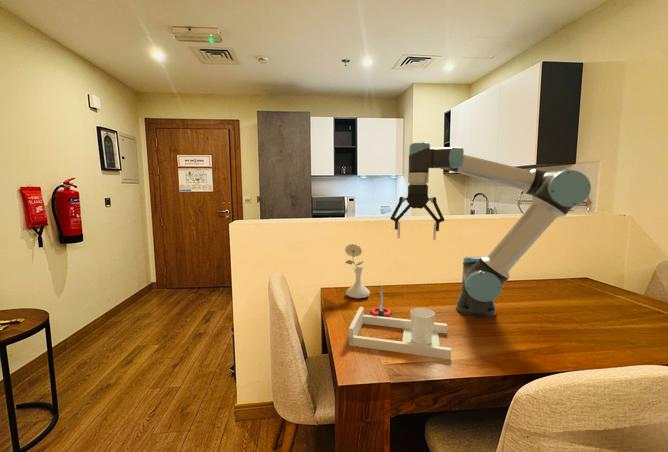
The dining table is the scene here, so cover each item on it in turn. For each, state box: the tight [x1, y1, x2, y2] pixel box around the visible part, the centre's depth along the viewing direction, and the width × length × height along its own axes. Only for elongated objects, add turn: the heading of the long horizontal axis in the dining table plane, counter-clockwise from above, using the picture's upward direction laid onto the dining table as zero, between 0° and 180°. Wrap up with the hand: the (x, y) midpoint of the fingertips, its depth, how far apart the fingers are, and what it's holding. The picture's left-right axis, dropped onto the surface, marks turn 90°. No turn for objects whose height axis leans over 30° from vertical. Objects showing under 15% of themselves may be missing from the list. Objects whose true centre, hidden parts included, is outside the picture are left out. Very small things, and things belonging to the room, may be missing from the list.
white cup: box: [410, 307, 436, 345], centre depth 108 cm, size 8×8×10 cm
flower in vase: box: [344, 243, 371, 299], centre depth 151 cm, size 13×11×25 cm
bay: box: [348, 306, 452, 361], centre depth 110 cm, size 32×19×6 cm, turn 74°
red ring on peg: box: [370, 285, 392, 318], centre depth 132 cm, size 8×13×9 cm
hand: (416, 238), depth 125 cm, fingers open, 13 cm apart
